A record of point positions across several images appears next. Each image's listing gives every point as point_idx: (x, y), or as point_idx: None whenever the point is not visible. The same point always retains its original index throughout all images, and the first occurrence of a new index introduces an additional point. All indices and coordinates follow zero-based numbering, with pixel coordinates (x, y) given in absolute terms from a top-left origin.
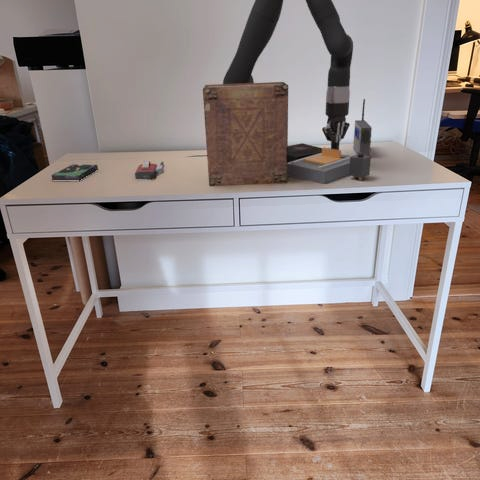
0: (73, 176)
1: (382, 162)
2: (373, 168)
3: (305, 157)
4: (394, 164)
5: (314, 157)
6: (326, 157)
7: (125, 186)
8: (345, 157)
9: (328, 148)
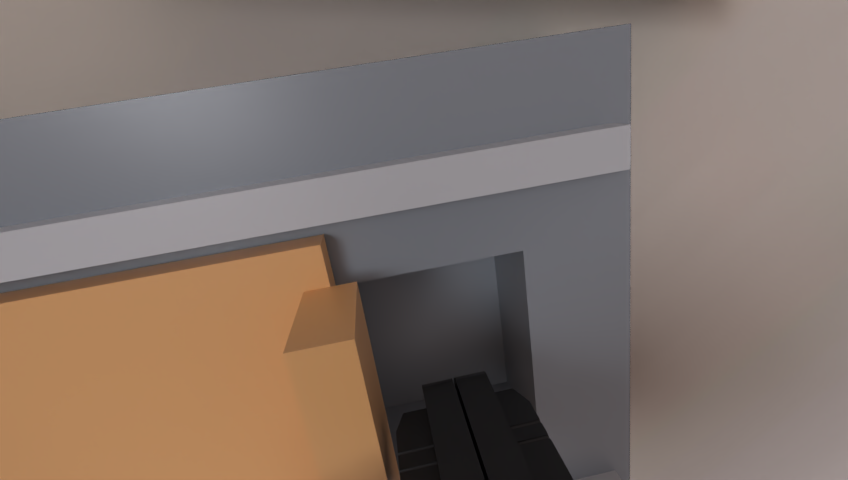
0: None
1: (841, 384)
2: (653, 461)
3: (90, 106)
4: (829, 462)
5: (106, 338)
6: (263, 429)
7: None
8: None
9: (348, 449)
